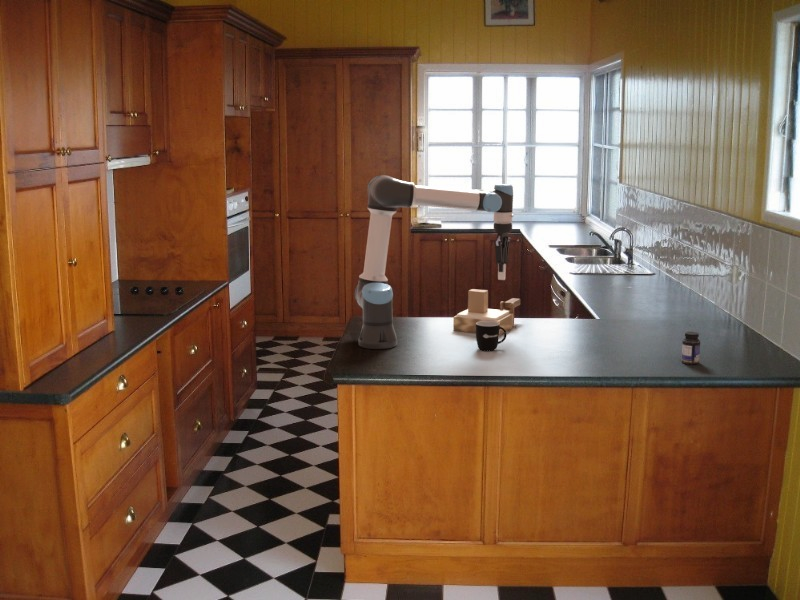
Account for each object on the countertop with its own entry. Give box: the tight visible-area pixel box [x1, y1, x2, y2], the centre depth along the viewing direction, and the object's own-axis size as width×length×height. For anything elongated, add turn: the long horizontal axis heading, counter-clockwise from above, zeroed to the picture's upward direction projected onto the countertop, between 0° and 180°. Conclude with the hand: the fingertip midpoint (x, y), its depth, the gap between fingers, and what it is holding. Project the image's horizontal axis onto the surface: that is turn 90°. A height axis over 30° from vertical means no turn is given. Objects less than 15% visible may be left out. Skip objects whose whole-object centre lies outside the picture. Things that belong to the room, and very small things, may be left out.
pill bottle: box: [681, 330, 701, 365], centre depth 316 cm, size 6×6×11 cm
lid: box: [456, 288, 509, 321], centre depth 367 cm, size 17×16×11 cm
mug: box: [475, 321, 507, 352], centre depth 336 cm, size 12×9×10 cm
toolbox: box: [452, 300, 515, 337], centre depth 369 cm, size 20×18×10 cm
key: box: [503, 297, 521, 310], centre depth 378 cm, size 4×11×2 cm, turn 153°
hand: (501, 279), depth 364 cm, fingers closed
